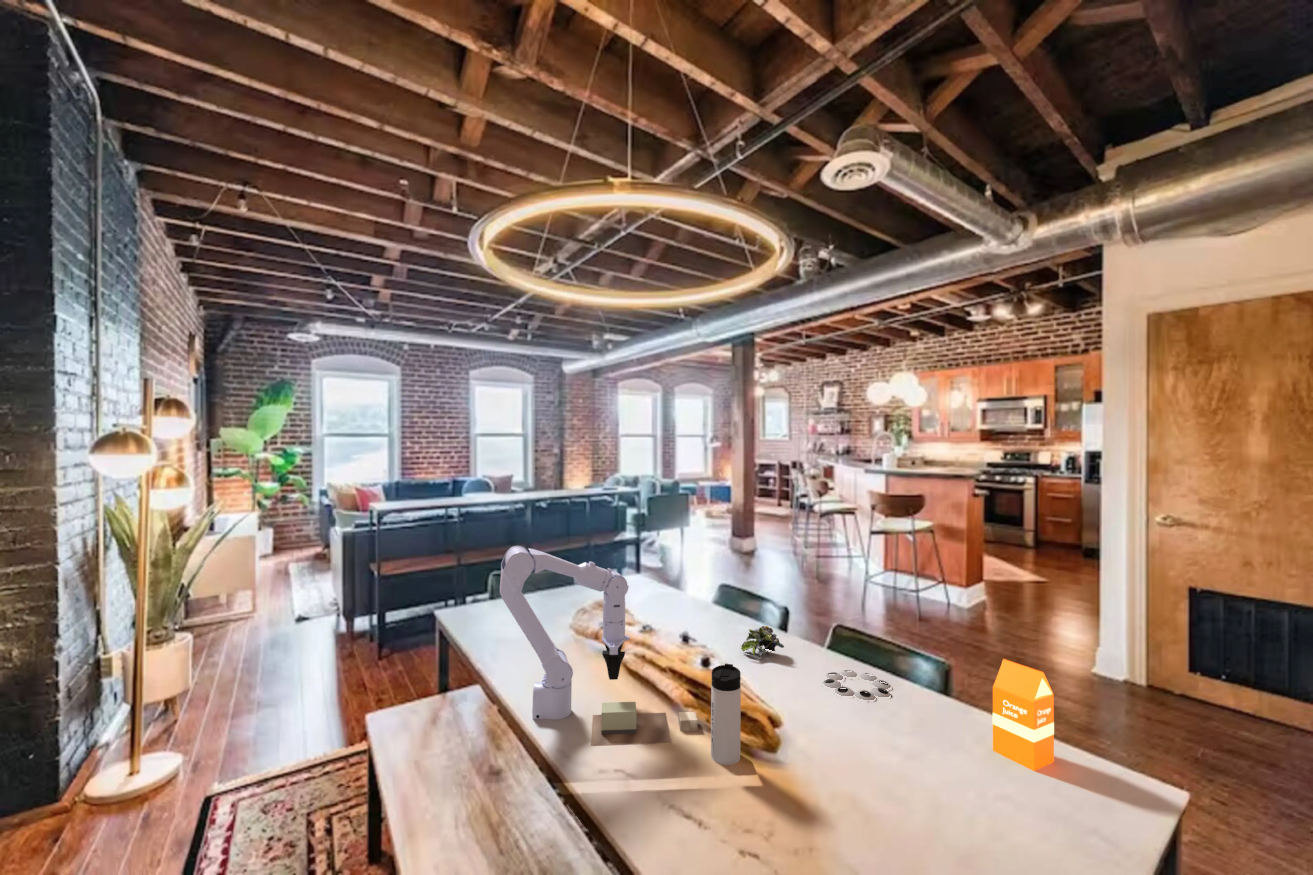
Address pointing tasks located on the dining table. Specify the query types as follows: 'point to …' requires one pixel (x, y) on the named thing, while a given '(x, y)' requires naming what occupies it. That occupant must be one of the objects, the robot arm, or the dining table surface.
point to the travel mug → (725, 714)
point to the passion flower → (761, 640)
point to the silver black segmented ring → (857, 694)
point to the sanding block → (618, 718)
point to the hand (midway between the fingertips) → (613, 672)
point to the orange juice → (1023, 716)
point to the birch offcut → (687, 721)
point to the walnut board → (647, 731)
